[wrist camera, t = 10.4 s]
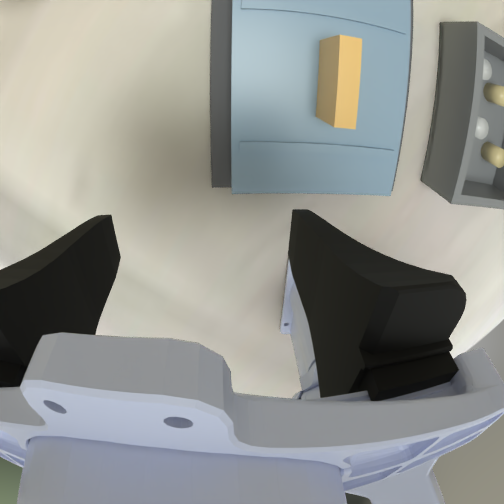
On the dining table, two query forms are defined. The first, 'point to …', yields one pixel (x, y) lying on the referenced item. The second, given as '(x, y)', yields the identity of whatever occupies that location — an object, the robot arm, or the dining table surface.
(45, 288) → the robot arm
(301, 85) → the lid
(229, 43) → the mat
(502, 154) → the parts tub
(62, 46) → the dining table surface
